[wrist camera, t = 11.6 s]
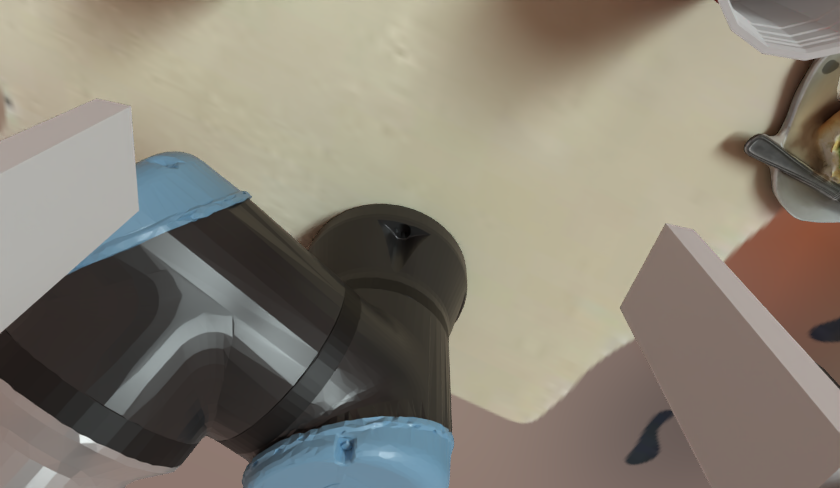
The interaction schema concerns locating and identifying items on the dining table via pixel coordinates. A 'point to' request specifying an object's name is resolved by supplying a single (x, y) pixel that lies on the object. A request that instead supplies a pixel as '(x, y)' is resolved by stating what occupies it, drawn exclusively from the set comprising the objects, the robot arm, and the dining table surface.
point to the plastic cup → (786, 26)
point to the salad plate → (807, 147)
